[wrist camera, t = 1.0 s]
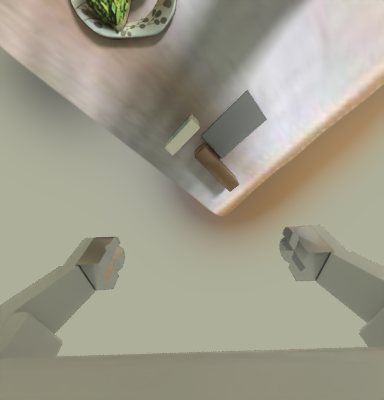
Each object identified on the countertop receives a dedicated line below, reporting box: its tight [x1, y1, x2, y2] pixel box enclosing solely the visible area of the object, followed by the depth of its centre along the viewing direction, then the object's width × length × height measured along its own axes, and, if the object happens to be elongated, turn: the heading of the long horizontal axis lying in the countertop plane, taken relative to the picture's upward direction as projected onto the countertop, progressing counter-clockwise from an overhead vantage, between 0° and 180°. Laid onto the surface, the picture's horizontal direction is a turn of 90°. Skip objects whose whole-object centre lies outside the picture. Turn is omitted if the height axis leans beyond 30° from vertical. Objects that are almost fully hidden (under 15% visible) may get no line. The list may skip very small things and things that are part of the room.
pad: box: [201, 90, 267, 158], centre depth 36 cm, size 12×7×1 cm, turn 134°
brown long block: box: [195, 143, 239, 192], centre depth 39 cm, size 3×12×4 cm, turn 45°
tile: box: [165, 114, 200, 156], centre depth 33 cm, size 7×2×8 cm, turn 134°
